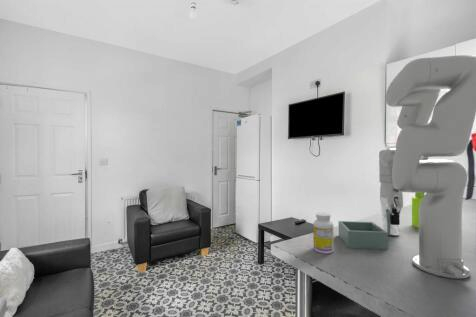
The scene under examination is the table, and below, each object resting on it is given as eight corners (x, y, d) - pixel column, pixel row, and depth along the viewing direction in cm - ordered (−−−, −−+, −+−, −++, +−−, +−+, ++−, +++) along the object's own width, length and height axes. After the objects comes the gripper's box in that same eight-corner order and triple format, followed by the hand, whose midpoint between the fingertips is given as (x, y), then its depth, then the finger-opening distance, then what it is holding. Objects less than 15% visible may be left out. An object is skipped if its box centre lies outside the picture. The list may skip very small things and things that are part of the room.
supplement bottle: (317, 245, 87) (317, 210, 87) (336, 249, 83) (336, 213, 82) (310, 251, 82) (310, 214, 82) (329, 256, 77) (329, 217, 77)
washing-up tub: (387, 249, 82) (387, 232, 82) (348, 247, 84) (348, 231, 84) (372, 236, 95) (372, 222, 95) (338, 235, 97) (338, 221, 97)
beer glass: (394, 230, 100) (394, 195, 101) (404, 236, 94) (404, 198, 94) (377, 230, 101) (377, 195, 101) (386, 235, 94) (385, 198, 94)
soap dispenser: (413, 228, 105) (413, 183, 105) (410, 223, 111) (410, 182, 111) (430, 229, 103) (430, 184, 102) (426, 225, 109) (426, 182, 108)
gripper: (411, 181, 88) (412, 228, 88) (389, 177, 105) (390, 217, 105) (390, 181, 89) (390, 228, 89) (371, 177, 107) (372, 217, 106)
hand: (390, 221), depth 97 cm, fingers closed on beer glass, 6 cm apart
